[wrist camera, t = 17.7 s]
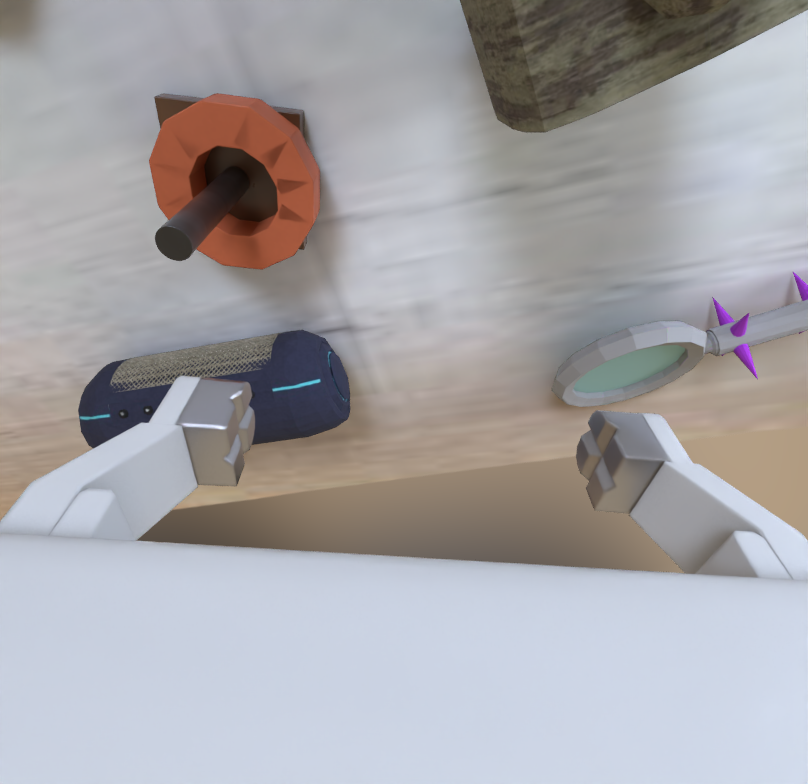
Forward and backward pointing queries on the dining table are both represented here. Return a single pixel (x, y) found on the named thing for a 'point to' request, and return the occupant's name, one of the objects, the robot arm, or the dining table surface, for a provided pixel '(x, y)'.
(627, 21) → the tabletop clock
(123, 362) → the portable speaker
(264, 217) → the stand
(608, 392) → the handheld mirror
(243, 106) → the ring
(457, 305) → the dining table surface
